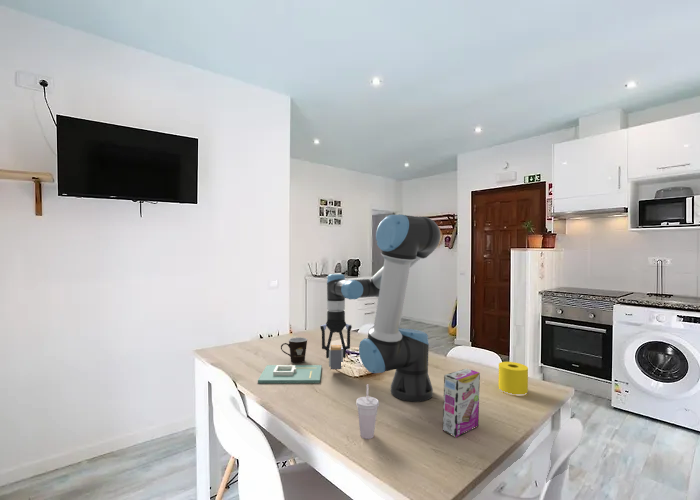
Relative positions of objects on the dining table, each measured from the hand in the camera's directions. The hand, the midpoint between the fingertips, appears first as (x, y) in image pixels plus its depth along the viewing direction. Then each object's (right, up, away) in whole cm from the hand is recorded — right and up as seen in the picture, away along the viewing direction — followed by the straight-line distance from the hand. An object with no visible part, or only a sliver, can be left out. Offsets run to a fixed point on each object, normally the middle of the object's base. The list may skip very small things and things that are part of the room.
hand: (336, 365), depth 148 cm
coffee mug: (-20, -3, +16) cm, 26 cm away
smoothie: (+11, -3, -50) cm, 51 cm away
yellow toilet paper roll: (+67, -4, -17) cm, 70 cm away
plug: (0, -1, 0) cm, 1 cm away
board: (-18, -3, -3) cm, 19 cm away
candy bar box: (+39, -4, -46) cm, 60 cm away
